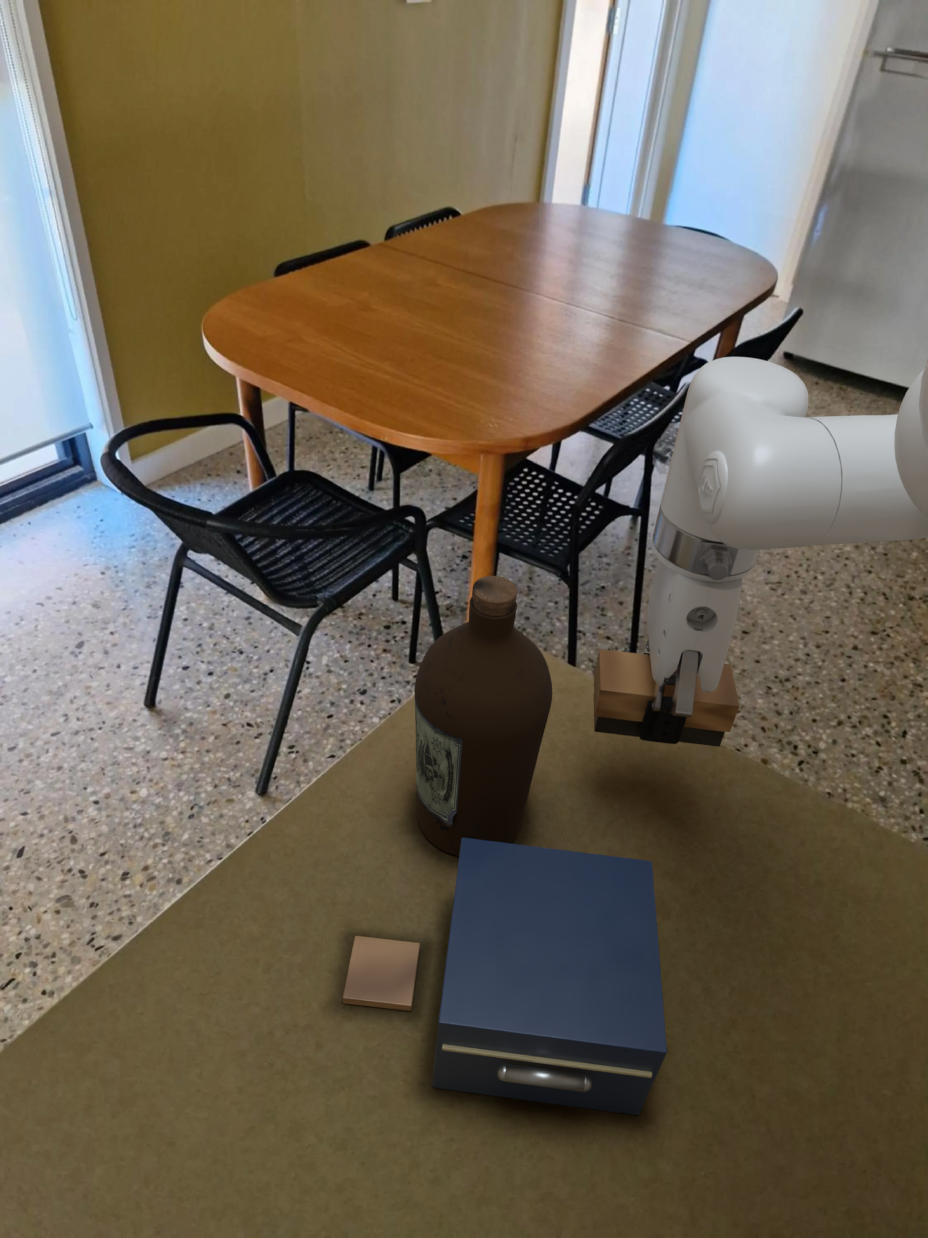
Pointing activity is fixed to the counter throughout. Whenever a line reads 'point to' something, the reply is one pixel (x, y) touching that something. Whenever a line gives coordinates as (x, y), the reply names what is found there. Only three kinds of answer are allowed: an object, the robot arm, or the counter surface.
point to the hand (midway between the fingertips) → (656, 713)
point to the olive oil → (479, 723)
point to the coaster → (382, 973)
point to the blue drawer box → (552, 979)
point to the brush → (631, 686)
